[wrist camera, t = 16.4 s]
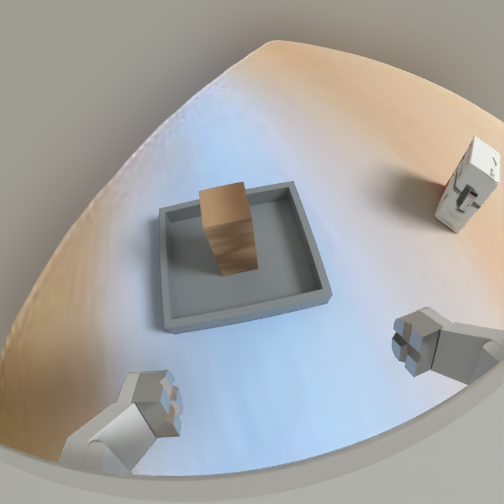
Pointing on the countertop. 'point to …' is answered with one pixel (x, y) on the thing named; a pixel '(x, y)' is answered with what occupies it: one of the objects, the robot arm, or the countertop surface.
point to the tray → (246, 283)
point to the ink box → (469, 185)
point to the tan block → (229, 227)
